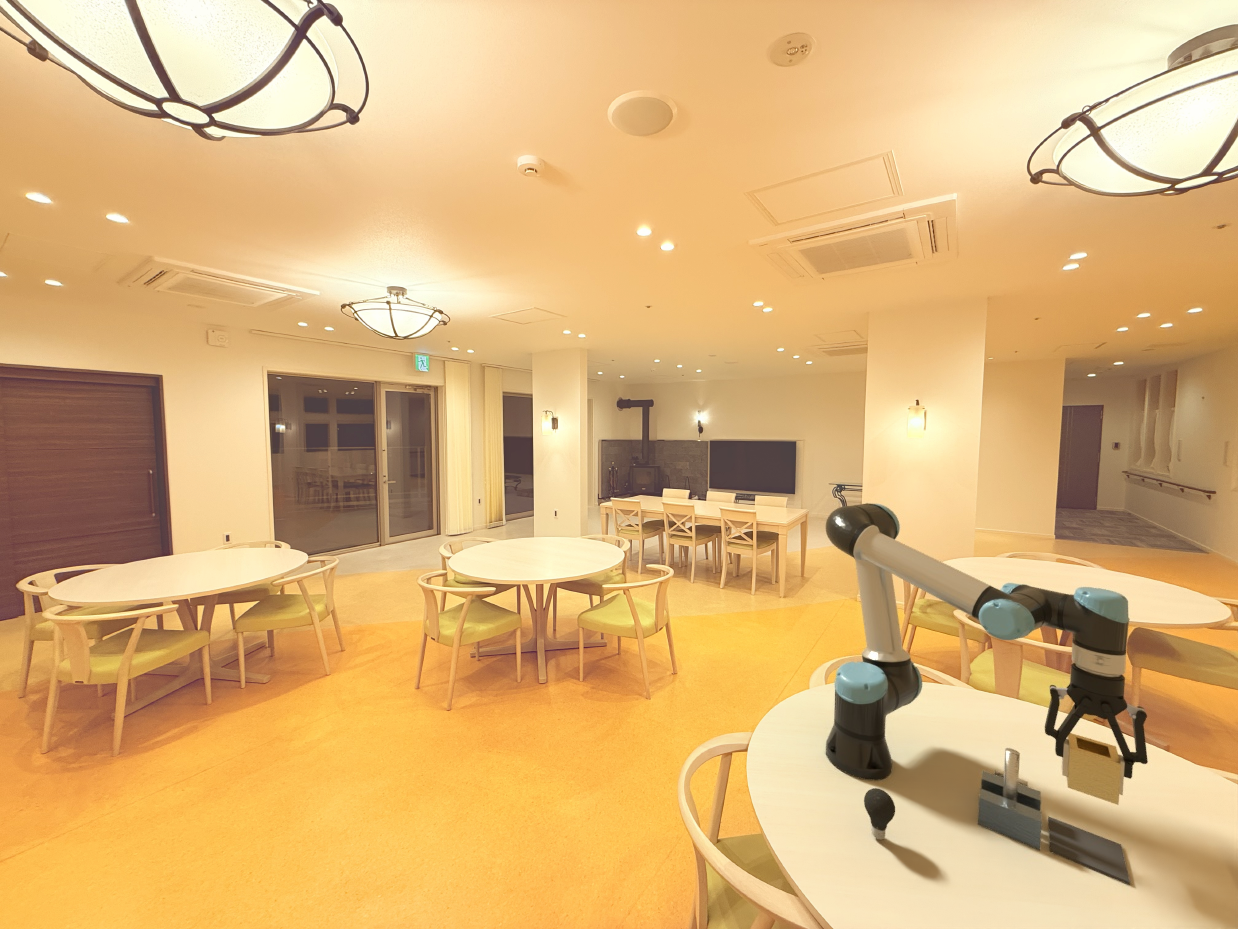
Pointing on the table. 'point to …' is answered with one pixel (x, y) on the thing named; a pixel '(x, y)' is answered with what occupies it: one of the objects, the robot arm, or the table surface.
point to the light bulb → (879, 811)
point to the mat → (1087, 849)
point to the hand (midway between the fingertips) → (1090, 781)
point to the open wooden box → (1093, 768)
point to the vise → (1010, 804)
